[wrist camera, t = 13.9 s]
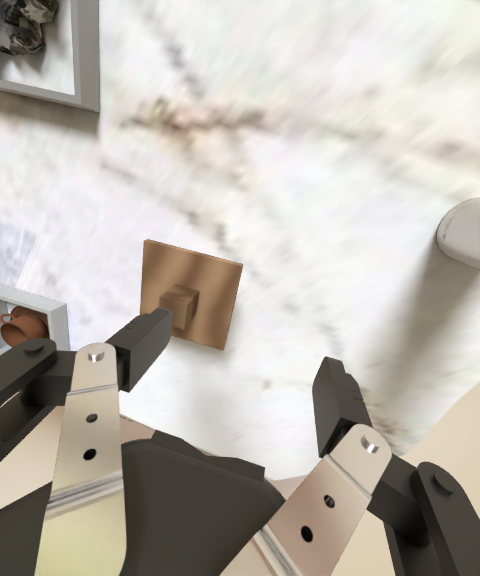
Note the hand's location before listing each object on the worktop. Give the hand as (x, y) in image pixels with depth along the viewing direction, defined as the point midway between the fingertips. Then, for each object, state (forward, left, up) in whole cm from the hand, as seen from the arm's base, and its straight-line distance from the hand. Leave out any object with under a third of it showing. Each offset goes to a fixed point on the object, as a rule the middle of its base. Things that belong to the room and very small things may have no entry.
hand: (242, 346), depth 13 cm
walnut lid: (+11, +11, -24) cm, 28 cm away
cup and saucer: (+51, +35, -33) cm, 71 cm away
